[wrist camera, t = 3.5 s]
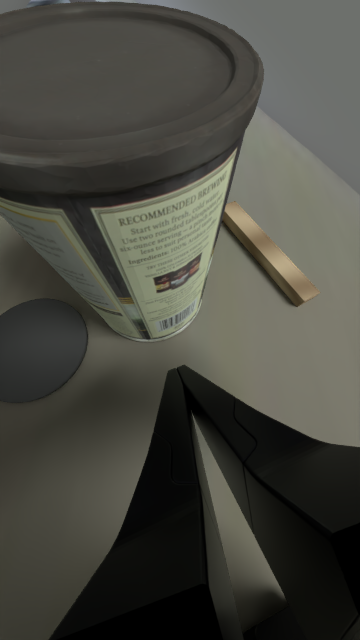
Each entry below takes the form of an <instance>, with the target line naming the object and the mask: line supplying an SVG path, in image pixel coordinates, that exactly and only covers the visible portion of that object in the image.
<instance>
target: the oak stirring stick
mask: <svg viewBox="0 0 360 640" xmlns="http://www.w3.org/2000/svg"><path fill="white" fill-rule="evenodd" d="M222 220H223V221H224V223H225V224H226V225H227V226H228V227H229V228H230V230H231V231H232V232H233V233H234V234H235V235H236V237H237V238H238V239H239V240H240V241H241V242H242V244H243V245H244V246H245V247H246V248H247V249H248V251H249V252H250V253H251V254H252V255H253V256H254V258H255V259H256V260H257V261H258V262H259V263H260V265H261V266H262V267H263V268H264V269H265V270H266V272H267V273H268V274H269V275H270V276H271V277H272V279H273V280H274V281H275V282H276V283H277V284H278V286H279V287H280V288H281V289H282V290H283V291H284V293H285V294H286V295H287V296H288V297H289V298H290V300H291V301H292V302H293V303H294V304H295V305H296V307H298V306H300V305H301V304H303V303H305V302H307V301H308V300H310V299H312V298H313V297H315V296H316V295H318V294H319V293H321V292H320V291H319V290H318V289H317V288H316V287H315V286H314V285H313V284H312V283H311V282H310V281H309V280H308V278H307V277H306V276H305V275H304V274H303V273H302V272H301V271H300V270H299V269H298V268H297V267H296V266H295V265H294V264H293V262H292V261H291V260H290V259H289V258H288V257H287V256H286V255H285V254H284V253H283V252H282V251H281V250H280V249H279V247H278V246H277V245H276V244H275V243H274V242H273V241H272V240H271V239H270V238H269V237H268V236H267V235H266V234H265V232H264V231H263V230H262V229H261V228H260V227H259V226H258V225H257V224H256V223H255V222H254V221H253V220H252V219H251V218H250V216H249V215H248V214H247V213H246V212H245V211H244V210H243V209H242V208H241V207H240V206H239V205H238V204H237V203H236V201H234V202H231V203H229V204H226V207H225V211H224V214H223V218H222Z"/></svg>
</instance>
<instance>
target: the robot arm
mask: <svg viewBox="0 0 360 640" xmlns="http://www.w3.org/2000/svg"><path fill="white" fill-rule="evenodd" d="M191 412H192V413H191ZM192 414H193V416H194V418H195V420H196V422H197V424H198V426H199V428H200V430H201V432H202V434H203V436H204V438H205V440H206V442H207V444H208V446H209V448H210V450H211V452H212V454H213V456H214V458H215V460H216V462H217V464H218V466H219V468H220V469H221V471H222V473H223V475H224V477H225V479H226V481H227V483H228V485H229V487H230V489H231V491H232V493H233V495H234V497H235V499H236V501H237V503H238V505H239V507H240V509H241V511H242V513H243V515H244V517H245V519H246V521H247V523H248V525H249V527H250V528H251V530H252V532H253V534H254V536H255V538H256V540H257V542H258V544H259V546H260V548H261V550H262V552H263V554H264V556H265V558H266V560H267V562H268V564H269V566H270V568H271V570H272V572H273V574H274V576H275V578H276V580H277V582H278V584H279V586H280V588H281V590H282V591H283V593H284V595H285V597H286V599H287V601H288V603H289V605H290V606H289V607H287V608H285V609H284V610H282V611H280V612H278V613H277V614H275V615H273V616H272V617H270V618H268V619H267V620H265V621H263V622H262V623H260V624H258V625H256V626H255V627H253V628H251V629H250V630H248V631H246V632H245V633H243V634H242V630H241V625H240V621H239V617H238V612H237V608H236V603H235V599H234V595H233V590H232V586H231V582H230V577H229V573H228V569H227V564H226V560H225V556H224V552H223V547H222V543H221V538H220V534H219V529H218V525H217V521H216V516H215V512H214V508H213V503H212V499H211V495H210V490H209V486H208V481H207V477H206V473H205V468H204V464H203V460H202V455H201V451H200V447H199V442H198V438H197V434H196V429H195V425H194V420H193V416H192ZM49 640H360V447H353V446H345V445H336V444H330V443H326V442H322V441H319V440H316V439H314V438H311V437H309V436H307V435H305V434H303V433H301V432H299V431H297V430H295V429H293V428H291V427H289V426H287V425H285V424H283V423H281V422H279V421H277V420H275V419H273V418H271V417H269V416H267V415H265V414H263V413H261V412H259V411H257V410H255V409H254V408H252V407H250V406H249V405H247V404H245V403H244V402H242V401H241V400H239V399H237V398H236V397H234V396H233V395H231V394H230V393H228V392H226V391H225V390H223V389H222V388H220V387H219V386H217V385H215V384H214V383H212V382H211V381H209V380H208V379H206V378H204V377H203V376H201V375H200V374H198V373H197V372H195V371H194V370H192V369H190V368H189V367H187V366H186V365H182V366H179V367H177V369H176V368H174V369H171V370H169V371H168V373H167V377H166V381H165V385H164V390H163V394H162V398H161V402H160V406H159V410H158V414H157V419H156V423H155V427H154V432H153V435H152V439H151V443H150V447H149V450H148V454H147V457H146V460H145V463H144V466H143V469H142V472H141V475H140V478H139V481H138V483H137V486H136V489H135V492H134V494H133V497H132V500H131V503H130V506H129V508H128V511H127V514H126V517H125V519H124V522H123V525H122V527H121V530H120V532H119V534H118V536H117V538H116V540H115V542H114V544H113V546H112V548H111V549H110V551H109V553H108V554H107V556H106V557H105V559H104V560H103V562H102V563H101V565H100V566H99V567H98V569H97V570H96V572H95V573H94V575H93V576H92V578H91V579H90V580H89V582H88V583H87V585H86V586H85V588H84V589H83V591H82V592H81V594H80V595H79V596H78V598H77V599H76V601H75V602H74V604H73V605H72V607H71V608H70V609H69V611H68V612H67V614H66V615H65V617H64V618H63V620H62V621H61V622H60V624H59V625H58V627H57V628H56V630H55V631H54V633H53V634H52V635H51V637H50V638H49Z"/></svg>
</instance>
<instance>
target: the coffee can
mask: <svg viewBox="0 0 360 640" xmlns="http://www.w3.org/2000/svg"><path fill="white" fill-rule="evenodd" d="M263 80H264V69H263V64H262V61H261V59H260V57H259V55H258V54H257V52H256V51H255V50H254V49H253V48H252V46H251V45H250V44H249V42H247V41H246V40H245V39H244V38H243V37H241V36H240V35H238V34H237V33H236V32H235V31H234V30H232V29H229V28H228V27H227V26H225V25H222V24H220V23H218V22H216V21H213V20H211V19H208V18H205V17H203V16H200V15H197V14H193V13H190V12H188V11H181V10H178V9H174V8H168V7H164V6H158V5H148V4H138V3H124V2H75V3H62V4H52V5H45V6H36V7H30V8H24V9H19V10H14V11H10V12H6V13H3V14H0V215H1V216H2V217H3V218H4V219H5V220H6V221H7V222H8V223H9V224H10V225H11V226H12V227H13V228H14V229H15V230H16V231H17V232H18V233H19V234H20V235H21V236H22V237H23V238H24V239H25V240H26V241H27V242H28V243H29V244H30V245H31V246H32V247H33V248H34V249H35V250H36V251H37V252H38V253H39V254H40V255H41V256H42V257H43V258H44V259H45V260H46V261H47V262H48V263H49V264H50V265H51V266H52V267H53V268H54V269H55V270H56V271H57V272H58V273H59V274H60V275H61V276H62V277H63V278H64V279H65V280H66V281H67V282H68V283H69V284H70V285H71V286H72V287H73V288H74V289H75V290H76V292H77V293H78V294H79V295H80V296H82V297H83V298H84V299H85V300H86V301H87V302H88V303H89V304H90V305H91V306H92V307H93V308H94V309H95V311H96V312H97V313H98V314H99V315H100V316H101V317H102V318H103V319H104V320H105V321H106V323H107V324H108V325H109V326H110V327H111V328H112V329H113V330H114V331H116V332H117V333H119V334H120V335H121V336H123V337H126V338H129V339H131V340H135V341H140V342H155V341H161V340H165V339H168V338H170V337H173V336H175V335H176V334H178V333H180V332H181V331H183V330H184V329H185V328H186V327H188V326H189V324H190V323H191V322H192V321H193V320H194V318H195V317H196V316H197V314H198V311H199V309H200V306H201V302H202V295H203V291H204V288H205V284H206V280H207V276H208V272H209V268H210V264H211V260H212V256H213V252H214V248H215V245H216V241H217V238H218V234H219V230H220V226H221V222H222V218H223V214H224V211H225V207H226V203H227V199H228V195H229V192H230V188H231V184H232V180H233V176H234V172H235V168H236V164H237V160H238V157H239V153H240V149H241V145H242V141H243V137H244V133H245V130H246V128H247V127H248V125H249V123H250V121H251V119H252V117H253V115H254V112H255V109H256V106H257V103H258V99H259V96H260V93H261V88H262V84H263Z"/></svg>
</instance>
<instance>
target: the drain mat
mask: <svg viewBox="0 0 360 640" xmlns="http://www.w3.org/2000/svg"><path fill="white" fill-rule="evenodd" d="M87 342H88V334H87V328H86V325H85V322H84V320H83V318H82V317H81V315H80V314H79V313H78V312H77V311H76V310H75V309H74V308H72V307H71V306H70V305H68V304H66V303H64V302H62V301H59V300H55V299H35V300H31V301H27V302H24V303H21V304H19V305H17V306H15V307H13V308H11V309H9V310H8V311H6V312H5V313H3V314H2V315H1V316H0V401H3V402H10V403H21V402H29V401H33V400H37V399H40V398H43V397H45V396H47V395H49V394H51V393H53V392H54V391H56V390H57V389H59V388H60V387H61V386H63V385H64V384H65V383H66V382H67V381H68V380H69V379H70V378H71V377H72V376H73V374H74V373H75V372H76V371H77V369H78V367H79V366H80V364H81V362H82V360H83V358H84V355H85V352H86V348H87Z"/></svg>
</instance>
